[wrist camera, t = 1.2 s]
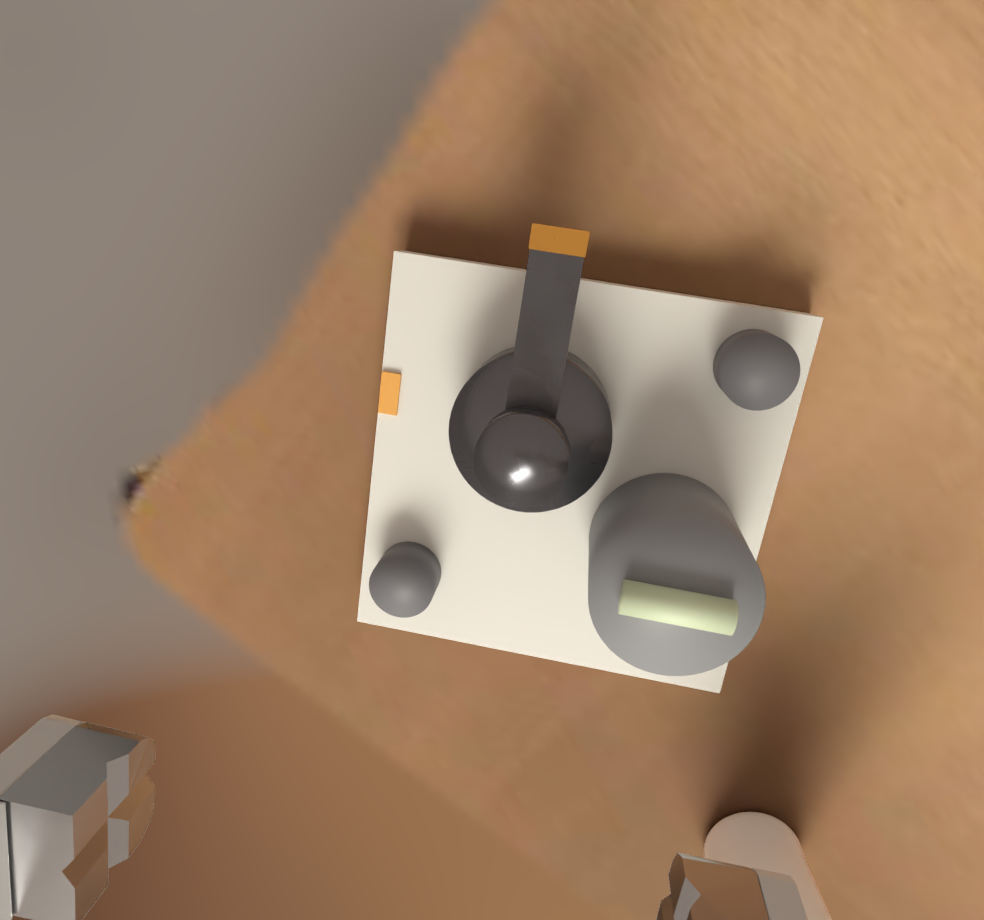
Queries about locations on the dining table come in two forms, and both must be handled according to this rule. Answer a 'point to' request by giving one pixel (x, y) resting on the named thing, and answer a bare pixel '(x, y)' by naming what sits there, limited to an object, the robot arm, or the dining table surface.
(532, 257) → the knob
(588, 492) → the base
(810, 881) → the drinking glass
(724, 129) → the dining table surface
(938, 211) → the dining table surface
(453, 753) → the dining table surface
